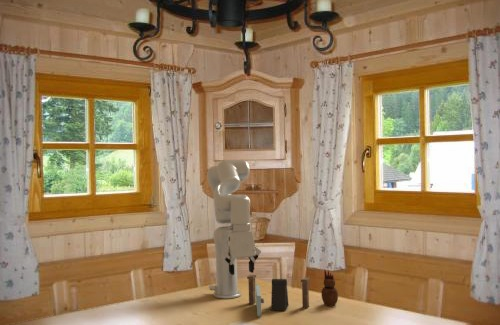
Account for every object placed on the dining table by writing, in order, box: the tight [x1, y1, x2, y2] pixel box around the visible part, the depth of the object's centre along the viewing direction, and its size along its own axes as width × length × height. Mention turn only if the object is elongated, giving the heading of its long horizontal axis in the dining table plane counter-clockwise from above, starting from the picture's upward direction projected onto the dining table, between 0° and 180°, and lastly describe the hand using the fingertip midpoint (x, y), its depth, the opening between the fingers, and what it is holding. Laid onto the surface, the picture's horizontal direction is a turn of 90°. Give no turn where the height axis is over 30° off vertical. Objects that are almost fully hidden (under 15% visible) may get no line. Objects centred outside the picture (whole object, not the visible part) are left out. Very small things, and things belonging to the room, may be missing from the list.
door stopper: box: [270, 278, 289, 312], centre depth 217 cm, size 9×6×12 cm, turn 167°
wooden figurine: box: [321, 269, 339, 307], centre depth 219 cm, size 7×6×15 cm
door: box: [255, 284, 265, 317], centre depth 213 cm, size 18×3×8 cm, turn 1°
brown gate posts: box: [246, 274, 310, 309], centre depth 220 cm, size 26×4×12 cm, turn 71°
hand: (241, 272), depth 204 cm, fingers open, 7 cm apart
